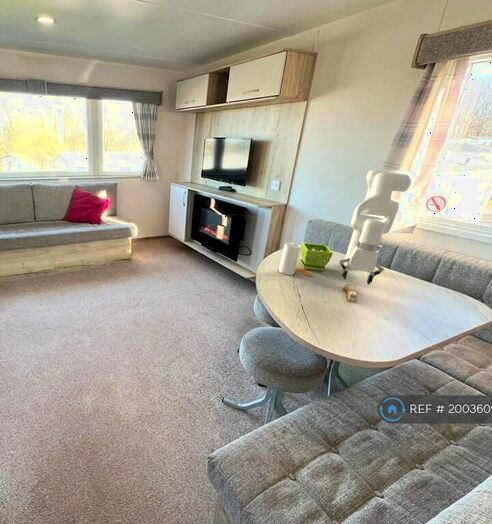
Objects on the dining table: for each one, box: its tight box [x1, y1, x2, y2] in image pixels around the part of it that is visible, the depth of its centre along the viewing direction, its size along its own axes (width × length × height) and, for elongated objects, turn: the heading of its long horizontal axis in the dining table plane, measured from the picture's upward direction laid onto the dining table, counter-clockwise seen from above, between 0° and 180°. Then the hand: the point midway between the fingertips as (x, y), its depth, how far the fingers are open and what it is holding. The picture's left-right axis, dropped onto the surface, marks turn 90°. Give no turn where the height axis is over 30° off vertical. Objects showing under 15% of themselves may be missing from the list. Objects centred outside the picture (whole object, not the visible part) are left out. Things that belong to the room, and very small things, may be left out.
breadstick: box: [295, 265, 313, 277], centre depth 176 cm, size 10×2×2 cm, turn 32°
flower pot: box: [299, 242, 333, 272], centre depth 182 cm, size 14×14×13 cm
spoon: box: [343, 283, 358, 303], centre depth 152 cm, size 16×5×4 cm, turn 152°
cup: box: [278, 242, 302, 276], centre depth 173 cm, size 8×8×16 cm
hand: (356, 280), depth 147 cm, fingers open, 9 cm apart
